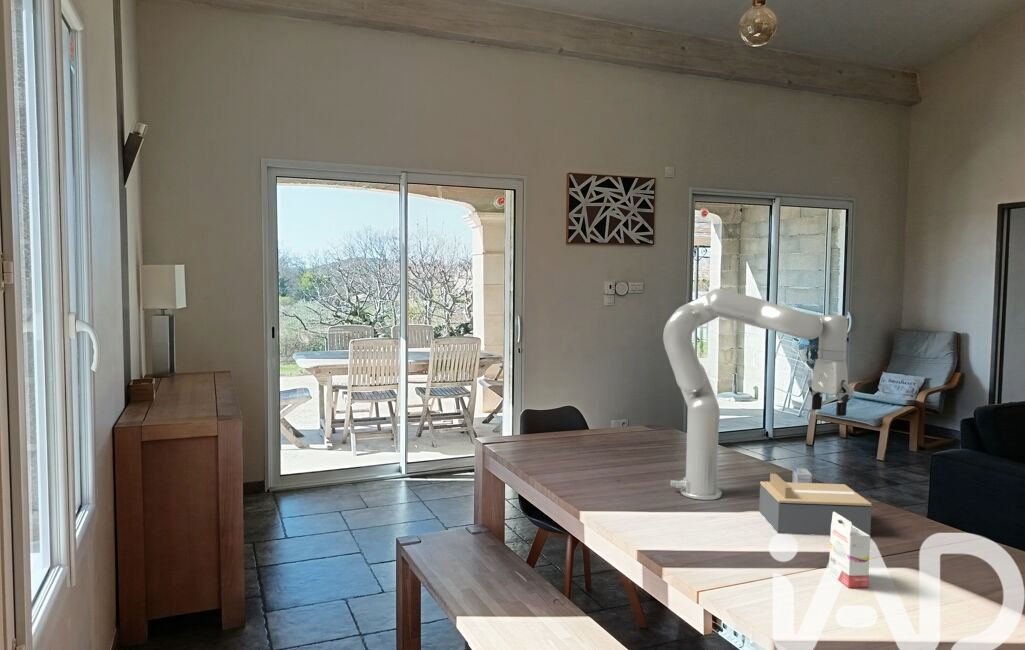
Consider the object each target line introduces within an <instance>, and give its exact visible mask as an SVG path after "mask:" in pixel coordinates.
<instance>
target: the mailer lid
mask: <svg viewBox="0 0 1025 650" xmlns="http://www.w3.org/2000/svg"><path fill="white" fill-rule="evenodd" d="M759 485H762V486H763V487H764V488H765V489H766V490H767V491H768V492H769V493H770V494H771V495H772V496H773V497H774V498H775V499H776V500H777V501H778V502H779V503H803V504H831V505H860V506H871V507H872V505H873V503H871V502H870V501H868V499H866V498H864V497H863V496H862V495H860V494H859V493H858V492H856V491H854V489H852V488H850V487H849V486H848V485H847V484H844V483H822V482H821V483H819V482H816V483H814V482H812V483H792V482H791V481H790V482H789V481H788V482H787V481H785V480H783V478H781V477H780V476H779V475H778V474H777V473H770V474H769V481H762V480H761V481H760V483H759Z"/></svg>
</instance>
